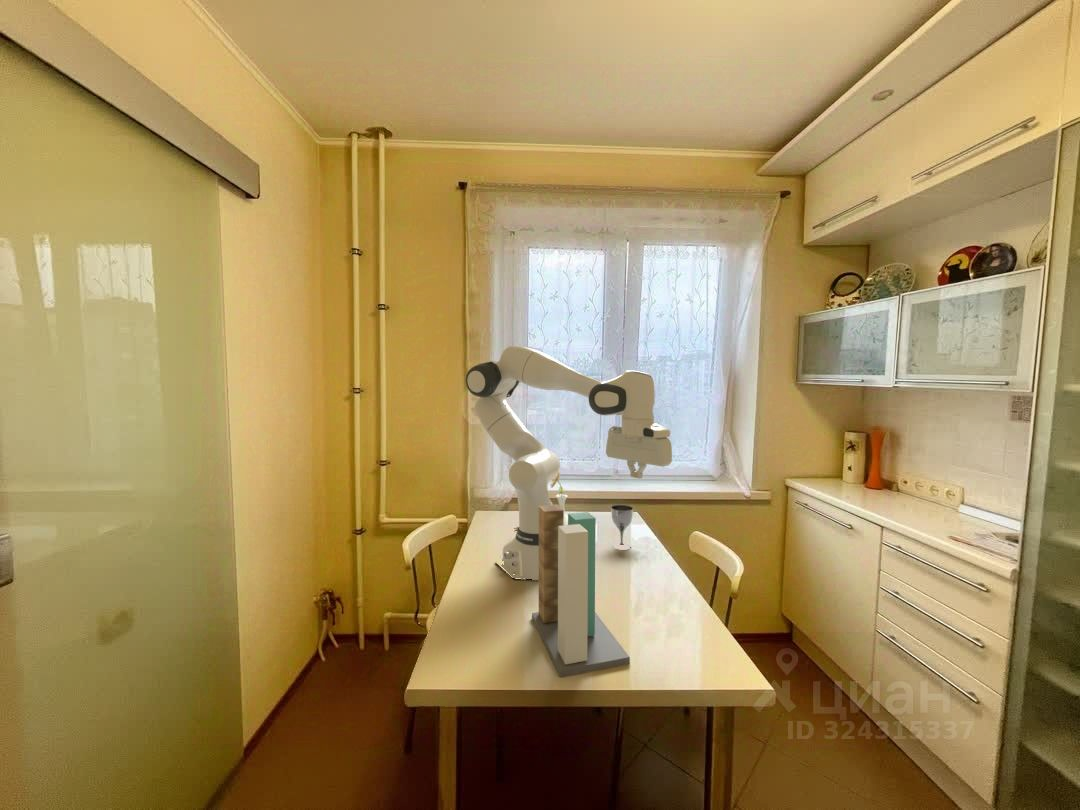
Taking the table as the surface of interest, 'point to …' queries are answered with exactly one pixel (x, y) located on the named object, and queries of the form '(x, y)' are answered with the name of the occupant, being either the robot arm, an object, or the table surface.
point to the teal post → (589, 524)
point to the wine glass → (621, 517)
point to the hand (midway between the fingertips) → (636, 477)
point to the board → (599, 648)
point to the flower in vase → (560, 497)
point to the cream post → (572, 593)
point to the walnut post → (549, 561)
